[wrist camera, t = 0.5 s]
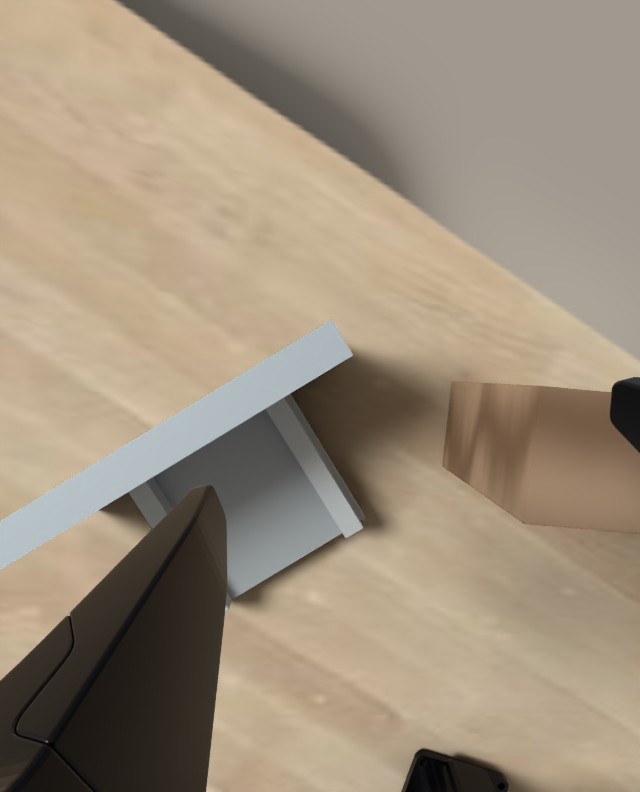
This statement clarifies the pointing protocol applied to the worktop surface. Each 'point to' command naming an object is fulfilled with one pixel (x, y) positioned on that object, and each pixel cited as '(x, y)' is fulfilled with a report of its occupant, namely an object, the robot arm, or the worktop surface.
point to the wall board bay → (222, 470)
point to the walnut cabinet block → (544, 455)
